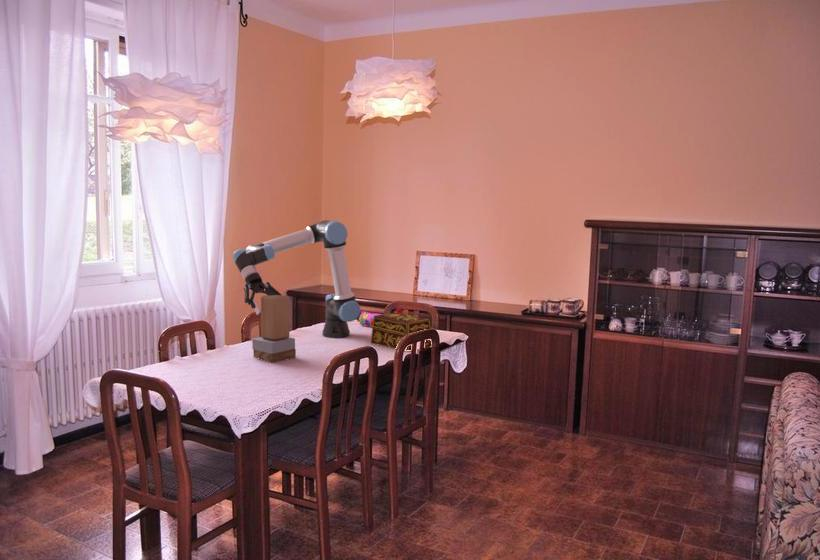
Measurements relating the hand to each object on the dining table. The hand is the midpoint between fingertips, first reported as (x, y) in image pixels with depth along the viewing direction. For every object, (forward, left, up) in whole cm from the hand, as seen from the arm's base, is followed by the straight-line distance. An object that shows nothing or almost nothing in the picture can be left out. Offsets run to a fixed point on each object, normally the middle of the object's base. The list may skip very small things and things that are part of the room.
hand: (270, 311), depth 312 cm
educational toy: (+6, +85, -22) cm, 88 cm away
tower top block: (+2, 0, -18) cm, 18 cm away
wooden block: (+2, +1, -13) cm, 13 cm away
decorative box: (+25, +64, -23) cm, 73 cm away
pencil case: (-16, +87, -22) cm, 91 cm away
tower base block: (+2, 0, -23) cm, 23 cm away
